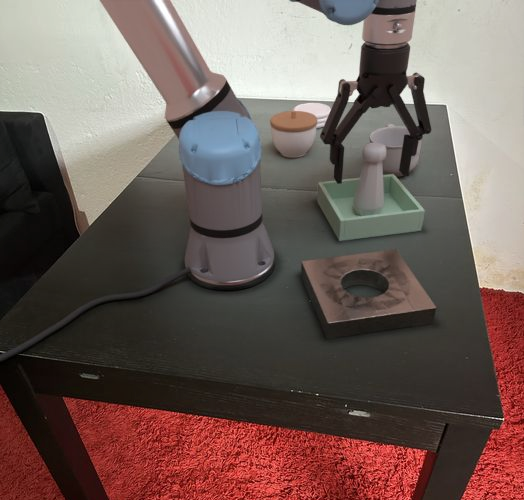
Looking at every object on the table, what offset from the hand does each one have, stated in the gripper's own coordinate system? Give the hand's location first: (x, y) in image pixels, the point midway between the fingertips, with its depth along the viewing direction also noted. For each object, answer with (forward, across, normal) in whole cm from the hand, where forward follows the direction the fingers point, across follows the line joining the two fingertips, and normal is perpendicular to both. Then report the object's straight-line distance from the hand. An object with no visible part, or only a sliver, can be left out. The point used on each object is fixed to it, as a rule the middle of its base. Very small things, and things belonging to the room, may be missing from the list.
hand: (370, 176), depth 96 cm
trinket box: (+8, -7, +33) cm, 35 cm away
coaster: (+8, +2, +51) cm, 52 cm away
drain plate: (+8, -9, -25) cm, 28 cm away
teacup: (+8, +12, +19) cm, 24 cm away
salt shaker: (+7, 0, 0) cm, 7 cm away
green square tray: (+8, 0, 0) cm, 8 cm away
